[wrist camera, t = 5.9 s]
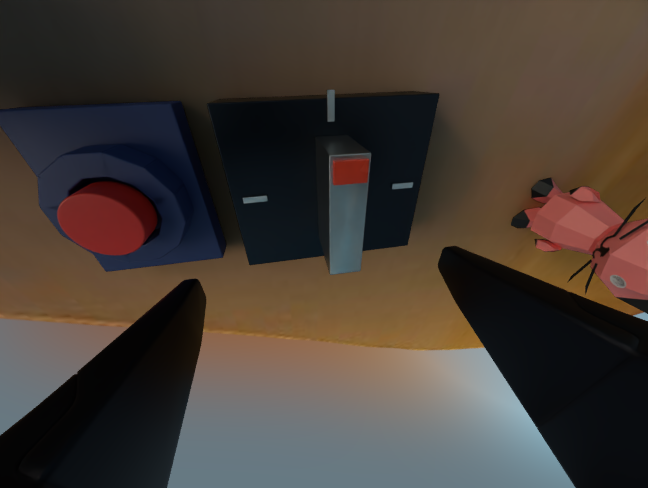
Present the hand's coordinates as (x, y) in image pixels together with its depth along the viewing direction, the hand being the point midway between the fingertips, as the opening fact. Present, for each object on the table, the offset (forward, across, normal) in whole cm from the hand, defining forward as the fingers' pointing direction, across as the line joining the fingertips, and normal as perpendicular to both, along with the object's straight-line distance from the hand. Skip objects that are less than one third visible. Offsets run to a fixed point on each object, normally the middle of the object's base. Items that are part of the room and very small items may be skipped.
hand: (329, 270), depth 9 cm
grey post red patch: (+7, -2, 0) cm, 7 cm away
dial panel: (+10, -2, 0) cm, 10 cm away
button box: (+10, +10, 0) cm, 15 cm away
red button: (+7, +10, 0) cm, 13 cm away
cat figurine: (+10, -22, +4) cm, 25 cm away
